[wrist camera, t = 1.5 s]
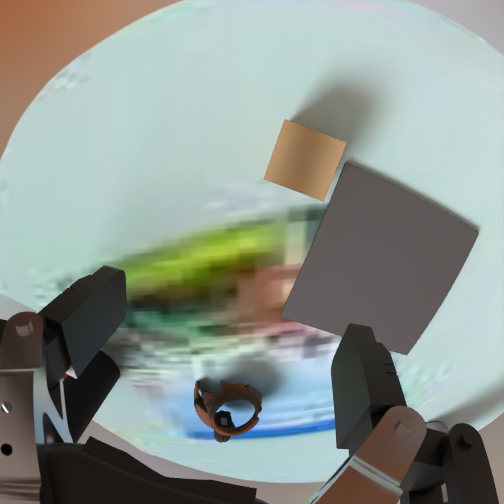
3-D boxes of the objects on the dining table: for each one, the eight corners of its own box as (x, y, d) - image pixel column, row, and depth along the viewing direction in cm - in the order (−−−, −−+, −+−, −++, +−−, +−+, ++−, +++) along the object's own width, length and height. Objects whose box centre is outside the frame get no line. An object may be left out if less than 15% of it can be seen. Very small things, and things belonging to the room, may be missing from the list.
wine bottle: (119, 387, 44) (39, 518, 16) (84, 368, 44) (-3, 486, 16) (120, 361, 41) (23, 508, 13) (82, 340, 41) (-23, 468, 14)
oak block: (335, 142, 26) (346, 142, 21) (317, 189, 28) (323, 201, 22) (286, 124, 26) (284, 119, 21) (269, 171, 28) (263, 179, 23)
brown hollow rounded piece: (188, 363, 39) (199, 394, 32) (251, 358, 43) (272, 385, 35) (192, 425, 41) (203, 459, 33) (248, 418, 44) (266, 448, 36)
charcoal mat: (477, 231, 26) (479, 232, 26) (405, 353, 33) (406, 355, 33) (344, 162, 27) (345, 163, 26) (280, 313, 34) (280, 316, 33)
